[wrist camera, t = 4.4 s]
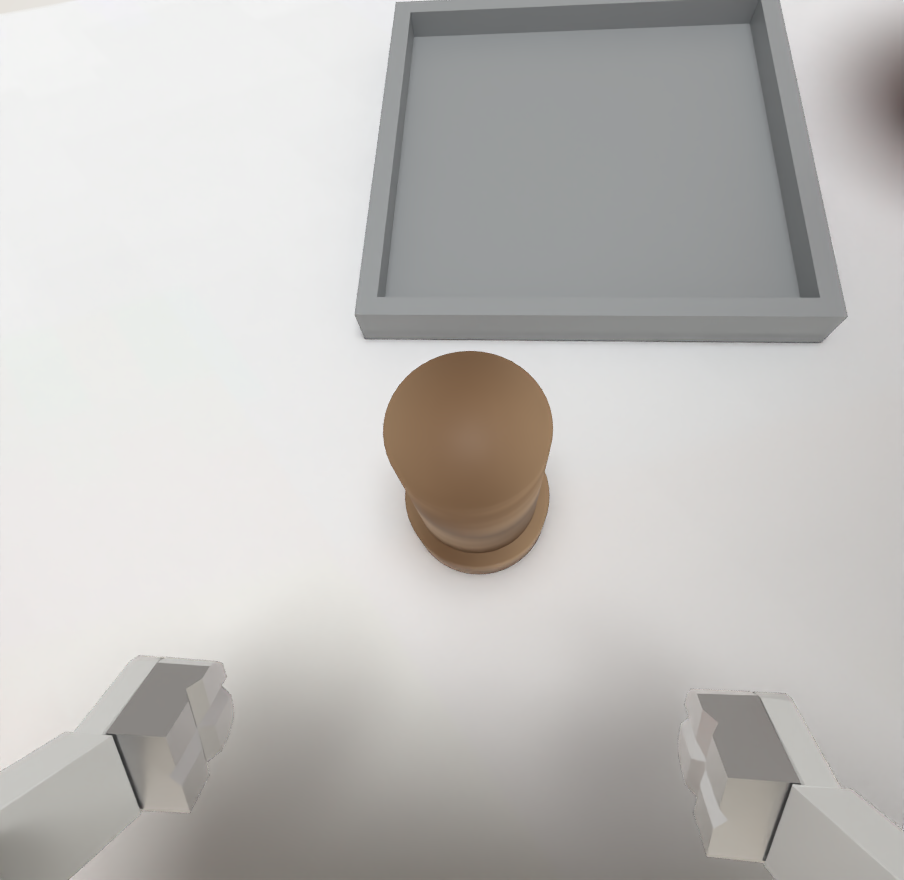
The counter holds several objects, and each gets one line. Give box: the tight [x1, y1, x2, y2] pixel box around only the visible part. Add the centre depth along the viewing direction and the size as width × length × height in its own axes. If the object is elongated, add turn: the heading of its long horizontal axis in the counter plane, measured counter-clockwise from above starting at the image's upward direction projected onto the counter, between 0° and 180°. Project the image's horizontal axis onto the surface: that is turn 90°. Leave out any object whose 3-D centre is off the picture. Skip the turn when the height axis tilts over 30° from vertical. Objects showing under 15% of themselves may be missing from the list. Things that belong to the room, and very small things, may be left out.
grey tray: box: [355, 0, 848, 342], centre depth 25 cm, size 18×18×2 cm
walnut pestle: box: [383, 351, 553, 574], centre depth 17 cm, size 5×5×8 cm
